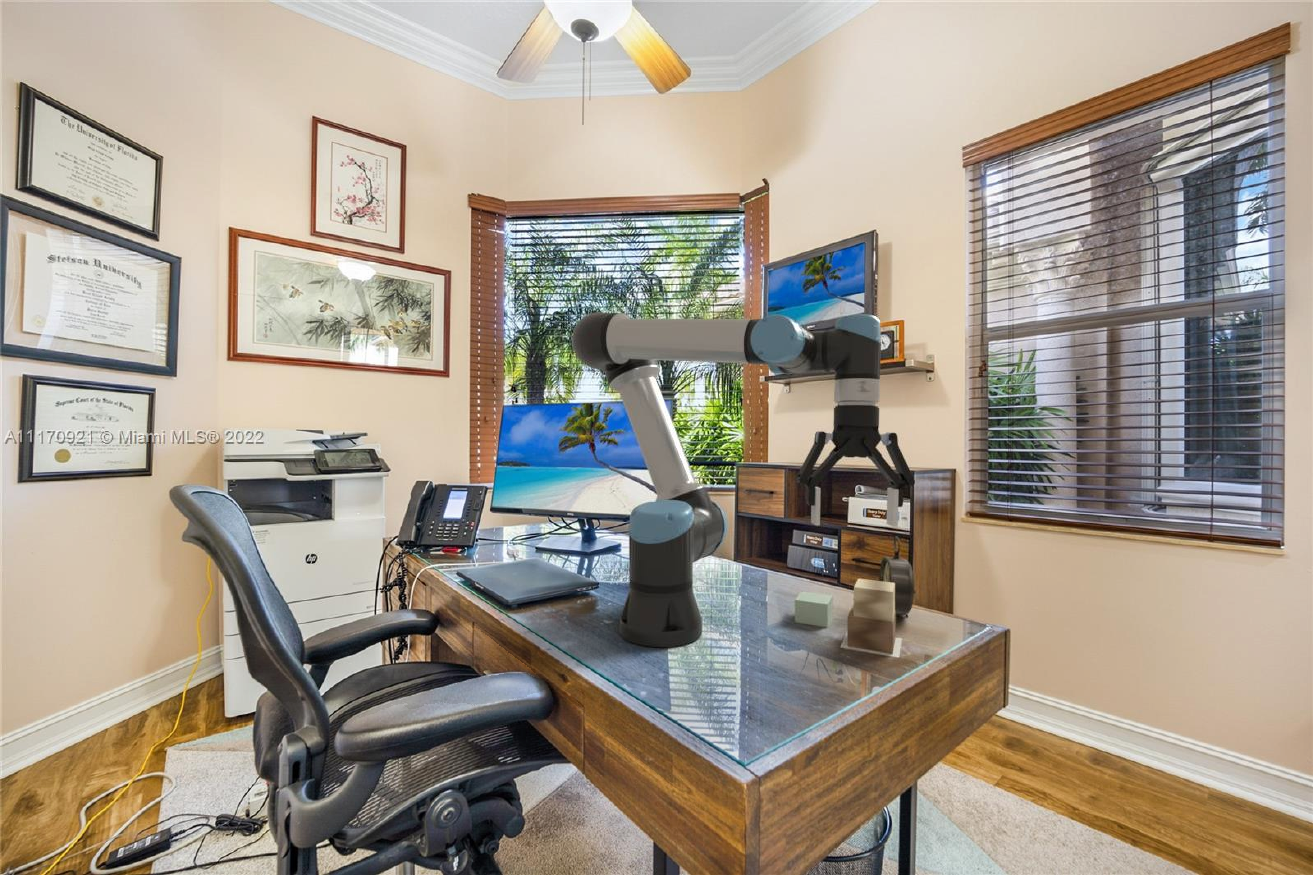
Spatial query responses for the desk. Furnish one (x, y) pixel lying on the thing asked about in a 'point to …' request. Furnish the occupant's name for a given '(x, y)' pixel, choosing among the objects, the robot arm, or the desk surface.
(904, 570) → the alarm clock
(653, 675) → the desk surface
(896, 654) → the mat
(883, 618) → the maple brick
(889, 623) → the walnut brick
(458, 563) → the desk surface
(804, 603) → the sage brick
